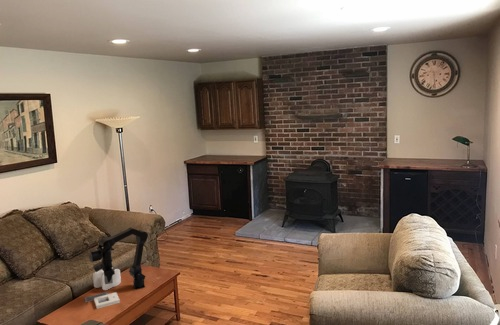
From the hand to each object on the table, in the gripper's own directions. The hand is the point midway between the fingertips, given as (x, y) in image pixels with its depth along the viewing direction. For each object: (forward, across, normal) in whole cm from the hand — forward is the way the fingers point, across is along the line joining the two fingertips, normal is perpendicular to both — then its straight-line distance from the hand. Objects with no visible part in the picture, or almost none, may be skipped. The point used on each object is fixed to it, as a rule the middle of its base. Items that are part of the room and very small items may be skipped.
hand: (108, 280), depth 260 cm
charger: (+1, 0, 0) cm, 1 cm away
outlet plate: (+12, +5, -2) cm, 13 cm away
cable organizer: (+12, -18, +1) cm, 22 cm away
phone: (+12, -5, -8) cm, 15 cm away
